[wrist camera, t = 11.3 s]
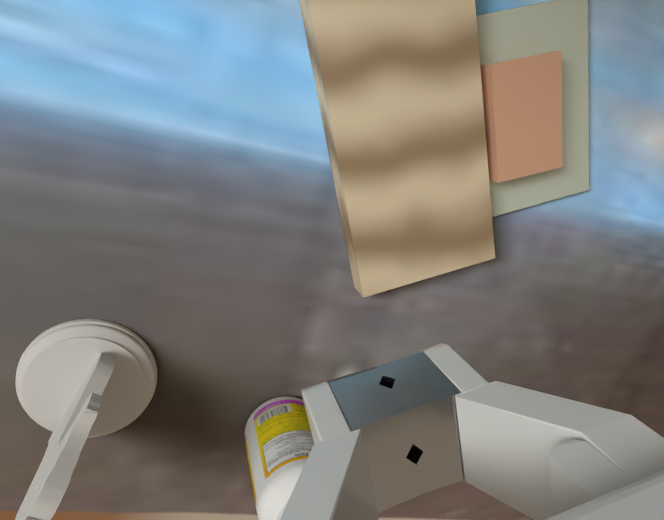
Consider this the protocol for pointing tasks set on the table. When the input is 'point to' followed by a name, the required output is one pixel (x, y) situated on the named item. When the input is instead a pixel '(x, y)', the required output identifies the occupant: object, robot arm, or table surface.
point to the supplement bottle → (277, 452)
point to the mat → (572, 40)
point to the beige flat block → (403, 134)
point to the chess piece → (79, 397)
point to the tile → (523, 115)
